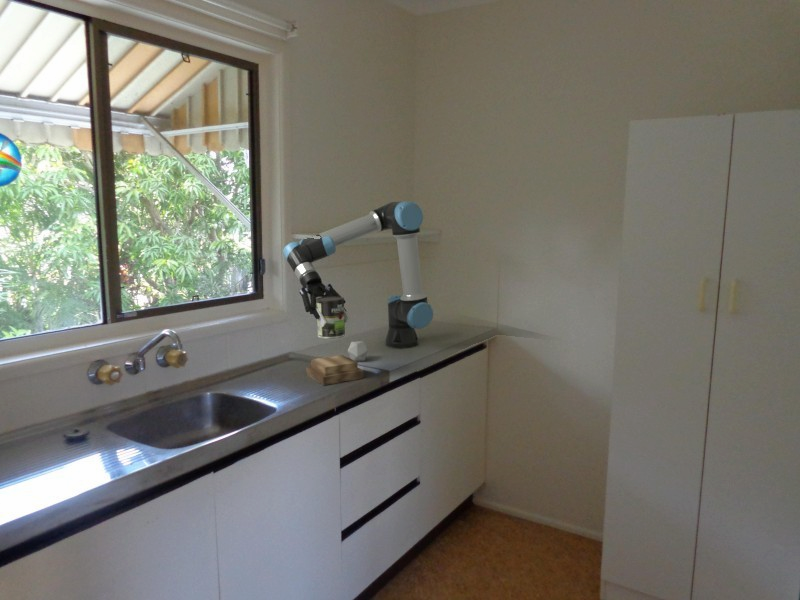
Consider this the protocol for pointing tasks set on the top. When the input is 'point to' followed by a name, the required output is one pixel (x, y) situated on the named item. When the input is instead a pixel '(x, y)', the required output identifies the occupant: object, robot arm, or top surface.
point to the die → (357, 351)
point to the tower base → (334, 377)
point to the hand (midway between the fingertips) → (336, 322)
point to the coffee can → (331, 317)
